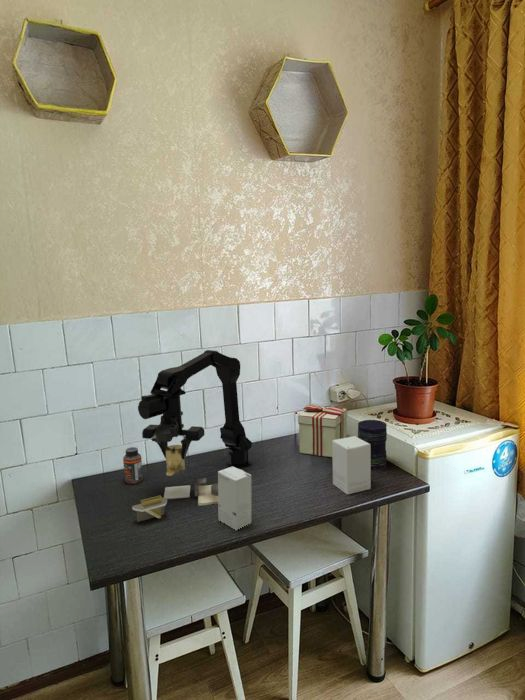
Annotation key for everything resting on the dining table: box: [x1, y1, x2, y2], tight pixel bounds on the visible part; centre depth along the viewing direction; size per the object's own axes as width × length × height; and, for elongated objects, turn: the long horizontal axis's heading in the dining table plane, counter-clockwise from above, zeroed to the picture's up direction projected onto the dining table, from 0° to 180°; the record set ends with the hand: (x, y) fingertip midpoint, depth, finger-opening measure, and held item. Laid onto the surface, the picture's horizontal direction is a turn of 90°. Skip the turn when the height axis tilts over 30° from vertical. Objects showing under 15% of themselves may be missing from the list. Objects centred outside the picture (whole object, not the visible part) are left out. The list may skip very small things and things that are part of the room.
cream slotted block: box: [193, 477, 218, 507], centre depth 156 cm, size 14×12×5 cm
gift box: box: [297, 403, 348, 458], centre depth 191 cm, size 17×18×17 cm
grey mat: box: [163, 484, 191, 500], centre depth 159 cm, size 8×8×1 cm
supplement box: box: [331, 435, 372, 495], centre depth 157 cm, size 9×9×15 cm
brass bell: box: [165, 444, 186, 477], centre depth 157 cm, size 10×6×7 cm, turn 166°
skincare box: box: [217, 466, 252, 531], centre depth 138 cm, size 8×6×15 cm
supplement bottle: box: [122, 446, 144, 485], centre depth 168 cm, size 6×6×11 cm
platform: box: [131, 495, 168, 523], centre depth 142 cm, size 12×18×7 cm, turn 119°
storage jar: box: [357, 419, 388, 472], centre depth 173 cm, size 10×10×15 cm
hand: (175, 458), depth 157 cm, fingers closed on brass bell, 6 cm apart
